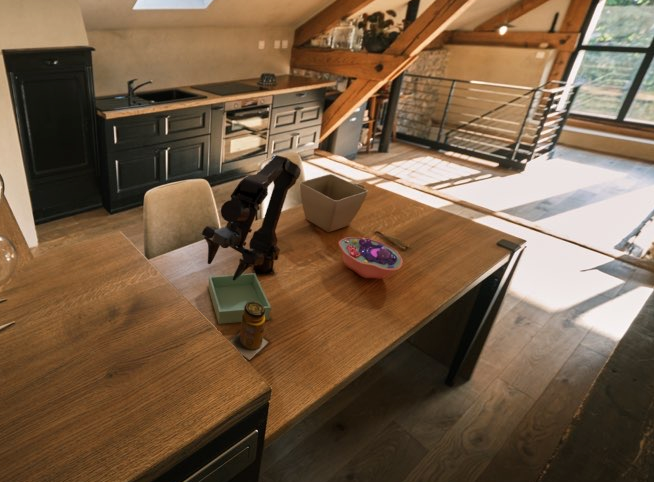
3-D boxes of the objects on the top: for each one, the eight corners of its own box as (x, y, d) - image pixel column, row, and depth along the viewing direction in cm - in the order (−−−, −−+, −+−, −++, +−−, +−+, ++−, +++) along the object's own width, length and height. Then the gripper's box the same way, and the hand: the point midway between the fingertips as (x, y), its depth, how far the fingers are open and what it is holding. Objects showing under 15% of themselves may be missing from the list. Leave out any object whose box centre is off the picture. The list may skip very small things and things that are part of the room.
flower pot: (293, 216, 165) (298, 181, 158) (324, 206, 173) (331, 173, 166) (328, 239, 149) (335, 201, 143) (360, 227, 158) (369, 190, 151)
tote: (253, 284, 125) (255, 273, 123) (269, 319, 111) (271, 307, 110) (208, 287, 124) (208, 276, 122) (218, 324, 110) (219, 311, 108)
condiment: (268, 342, 104) (273, 308, 99) (249, 360, 99) (253, 325, 94) (247, 326, 109) (250, 294, 104) (227, 343, 104) (230, 309, 99)
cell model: (347, 248, 144) (353, 222, 139) (404, 274, 131) (413, 246, 126) (325, 268, 133) (331, 241, 129) (386, 298, 120) (394, 269, 115)
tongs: (376, 231, 155) (377, 227, 154) (409, 248, 145) (410, 244, 144) (370, 235, 152) (372, 230, 152) (403, 252, 143) (405, 248, 142)
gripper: (201, 206, 108) (181, 256, 109) (256, 235, 96) (232, 291, 97) (221, 209, 116) (202, 256, 118) (274, 237, 104) (252, 288, 106)
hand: (221, 271), depth 109 cm, fingers open, 9 cm apart
